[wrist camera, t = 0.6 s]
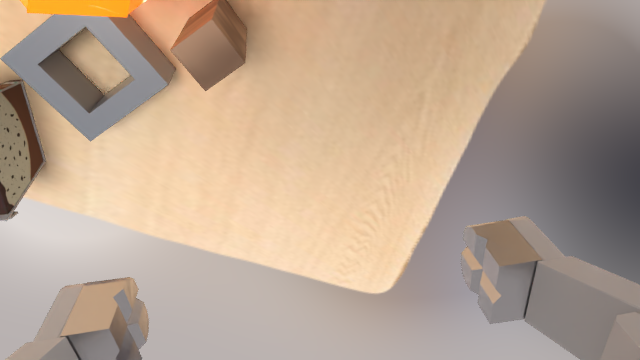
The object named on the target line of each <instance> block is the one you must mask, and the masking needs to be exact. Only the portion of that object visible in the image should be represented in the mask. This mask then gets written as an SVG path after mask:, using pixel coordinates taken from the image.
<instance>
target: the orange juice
mask: <svg viewBox="0 0 640 360" xmlns="http://www.w3.org/2000/svg"><path fill="white" fill-rule="evenodd" d="M20 1H21V2H22V3H23V5H24V6H25V7H26V8H27V13H43V14H64V15H85V16H107V17H127V16H128V14H129V13H131V12H132V11H133V10H134V9H135V8H137V7H138V6H139V5H140V4H142V3H144V2H145V1H147V0H20Z"/></svg>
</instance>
